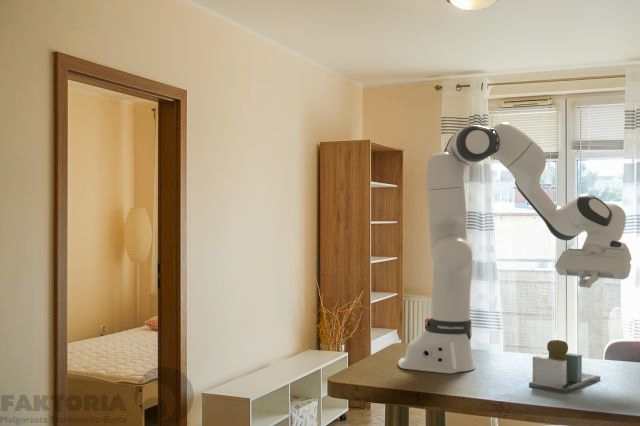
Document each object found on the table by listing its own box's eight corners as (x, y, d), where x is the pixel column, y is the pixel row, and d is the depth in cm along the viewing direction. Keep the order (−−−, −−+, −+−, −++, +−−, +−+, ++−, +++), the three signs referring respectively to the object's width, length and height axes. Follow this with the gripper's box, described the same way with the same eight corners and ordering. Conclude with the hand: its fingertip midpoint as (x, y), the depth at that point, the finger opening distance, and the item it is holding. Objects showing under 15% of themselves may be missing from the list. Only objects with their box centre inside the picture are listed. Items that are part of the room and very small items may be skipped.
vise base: (565, 394, 166) (565, 362, 166) (529, 386, 173) (529, 356, 173) (600, 379, 181) (600, 350, 181) (565, 373, 188) (565, 345, 188)
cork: (545, 383, 172) (545, 341, 172) (545, 378, 178) (545, 337, 178) (569, 386, 170) (569, 343, 170) (569, 380, 176) (569, 339, 176)
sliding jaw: (577, 382, 173) (577, 356, 173) (548, 377, 179) (548, 351, 179) (581, 381, 175) (581, 355, 175) (552, 375, 180) (553, 350, 181)
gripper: (560, 241, 198) (545, 276, 191) (631, 243, 183) (617, 281, 176) (567, 255, 201) (552, 290, 194) (637, 259, 186) (624, 296, 179)
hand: (584, 286), depth 185 cm, fingers closed
